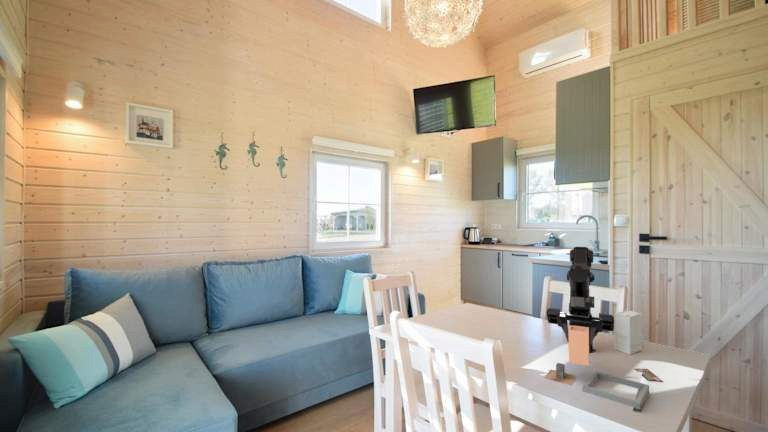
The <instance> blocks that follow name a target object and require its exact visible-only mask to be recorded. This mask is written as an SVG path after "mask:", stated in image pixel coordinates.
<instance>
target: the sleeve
mask: <svg viewBox="0 0 768 432" xmlns="http://www.w3.org/2000/svg"><path fill="white" fill-rule="evenodd" d="M568 335H569V343H568V363H572V364H577V365H583V366H589V367H590V352H589V327H582V326H574V325H570V324H569V325H568Z"/></svg>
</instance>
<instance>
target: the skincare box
mask: <svg viewBox="0 0 768 432" xmlns="http://www.w3.org/2000/svg"><path fill="white" fill-rule="evenodd" d="M642 320H643V314H642V313H641V312H638V311H633V310H630V309H626V310H621V311H617V312H615V313H614V350H616V351H617V352H621V353H624V354H627V355H632V354H636V353H639V352H641V351H643V321H642Z"/></svg>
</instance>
